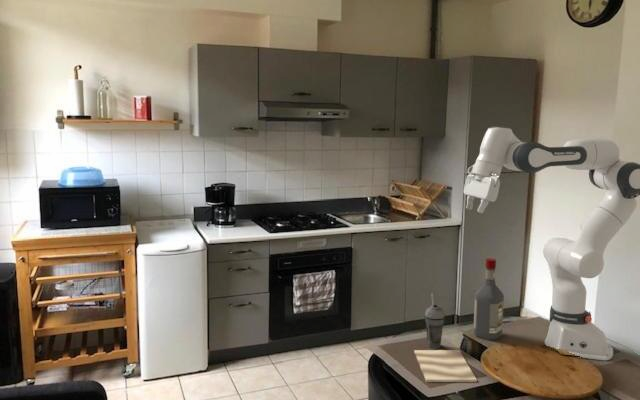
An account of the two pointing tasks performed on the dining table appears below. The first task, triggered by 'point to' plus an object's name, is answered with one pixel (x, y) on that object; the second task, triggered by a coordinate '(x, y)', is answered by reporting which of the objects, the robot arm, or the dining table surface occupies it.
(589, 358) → the robot arm
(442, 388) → the dining table surface
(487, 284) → the liquor
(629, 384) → the dining table surface
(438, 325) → the beverage cup
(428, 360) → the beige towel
